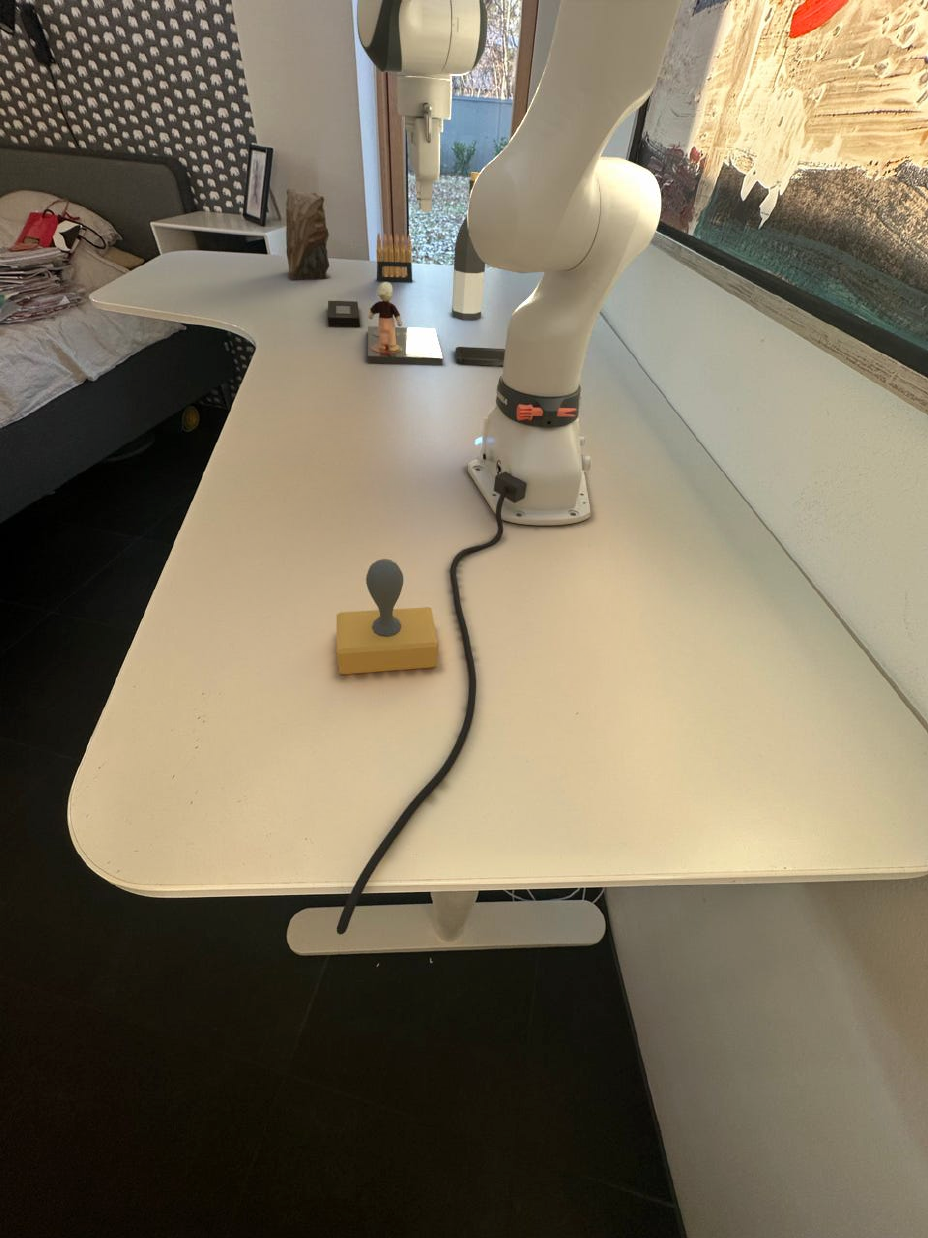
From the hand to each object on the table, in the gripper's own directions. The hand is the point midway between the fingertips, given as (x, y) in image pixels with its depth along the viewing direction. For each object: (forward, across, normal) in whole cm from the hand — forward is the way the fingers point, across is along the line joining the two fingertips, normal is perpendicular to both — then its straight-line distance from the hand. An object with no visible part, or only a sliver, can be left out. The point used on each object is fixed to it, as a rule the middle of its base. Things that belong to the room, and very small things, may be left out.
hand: (423, 207), depth 99 cm
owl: (+26, +72, +30) cm, 82 cm away
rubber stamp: (+29, -83, +10) cm, 89 cm away
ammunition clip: (+26, +71, +3) cm, 76 cm away
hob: (+27, +11, +4) cm, 30 cm away
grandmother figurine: (+26, +6, +8) cm, 28 cm away
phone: (+28, +5, -15) cm, 32 cm away
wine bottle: (+27, +38, -15) cm, 49 cm away
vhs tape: (+27, +32, +18) cm, 45 cm away
